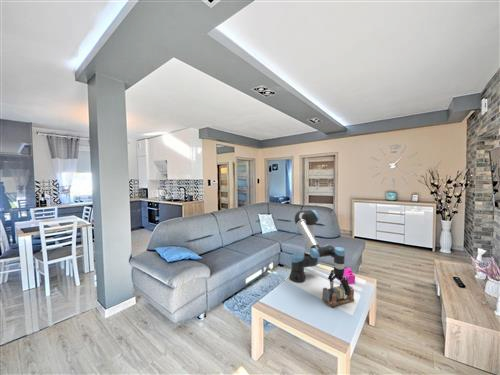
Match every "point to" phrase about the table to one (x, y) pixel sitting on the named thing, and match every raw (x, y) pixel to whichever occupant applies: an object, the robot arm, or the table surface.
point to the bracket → (349, 276)
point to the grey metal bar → (336, 290)
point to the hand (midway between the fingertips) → (338, 293)
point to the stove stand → (339, 302)
